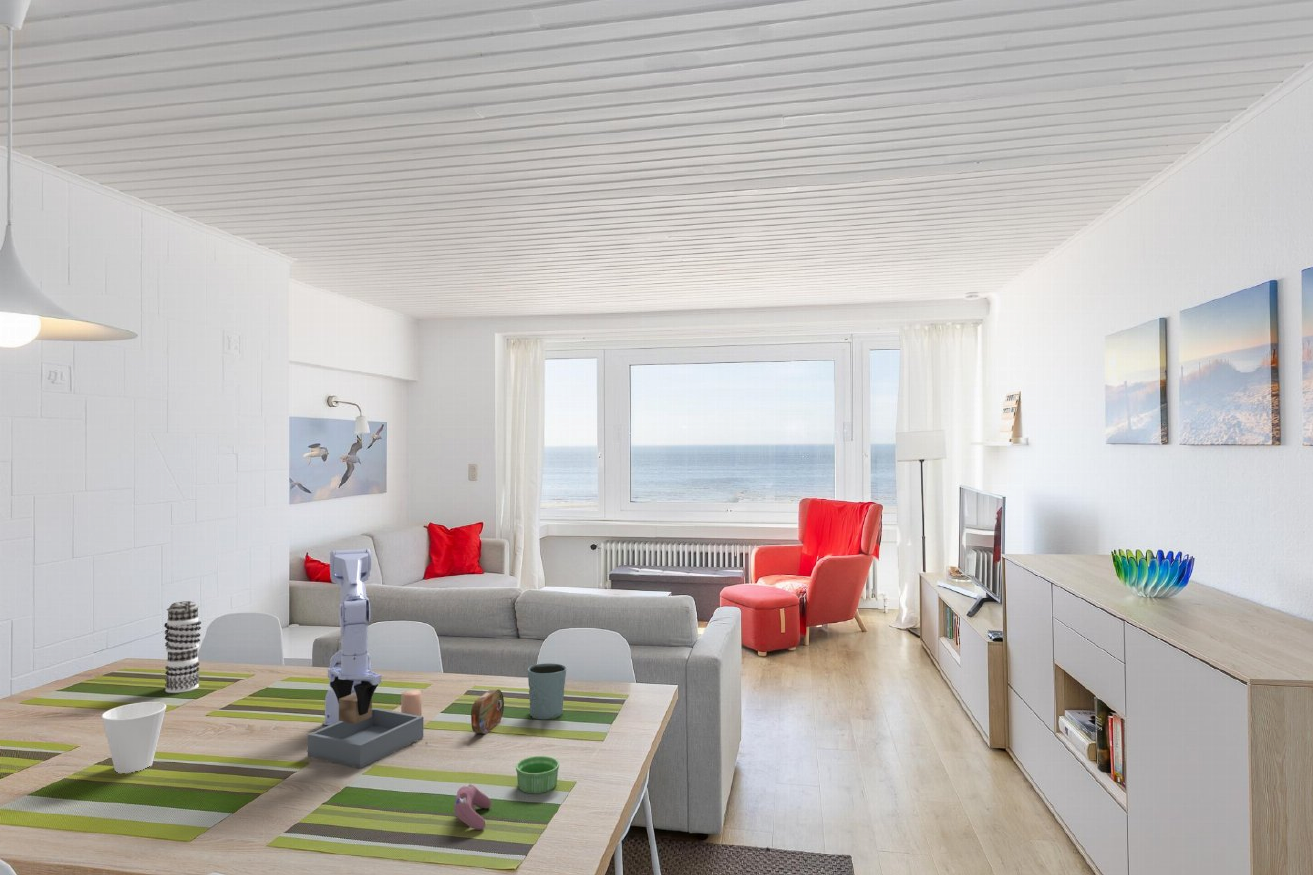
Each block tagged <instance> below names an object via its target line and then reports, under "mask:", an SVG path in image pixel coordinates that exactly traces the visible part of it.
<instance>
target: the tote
mask: <svg viewBox="0 0 1313 875" xmlns="http://www.w3.org/2000/svg"><path fill="white" fill-rule="evenodd" d="M423 738H424V716H423V715H422V716H417V715H411V714H406V713H401V712H399V711H393V710H389V709H383V708H378V707H372V717H371V718H368V719H366V720H363V721H361V722H358V723H356V724H353V723H348V722H343V721H339V722H337V723H334V724H332V725H330V726H329V725H326V726H325V727H323V728H320V729H317V730H315V731H312V732H310V733H308V734H307V757H309V758H313V759H317V760H322V761H326V762H329V763H334V764H337V765H338V764H340V765H343V766H347V767H352V768H357V769H362V768H364V767H366V766H369V765H370V764H372V763H375V762H377V761H378V760H381V759H382V758H385V757H387V756H388V755H391V754H392V753H394V752H397V751H398V750H401V749H402V748H404V747H408V745H411V744H413V743H415V742H417V741H419V740H421V739H423Z"/></svg>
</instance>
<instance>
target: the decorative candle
mask: <svg viewBox="0 0 1313 875" xmlns="http://www.w3.org/2000/svg"><path fill="white" fill-rule="evenodd" d="M199 608H200V607H199V605H197V604H196V602H194V601H191V600H188V601H186V600H185V601H184V600H183V601H178V602H174V603H172V604H171V605H169V608H167V609H166V611H167V617H168V618H167V621H166V622H165V623H164V626H163V627H164V628H165V629H166V630H164V635H165V637H164V639H165V640H166V642H165V646H164V647H166V648H165V651H166V652H167V659H166V666H165V670H166V671H165V672H164V673H165V675H166V677H165V678H164V681H165V684H164V686H165V687H166V688H165V692H166V693H167V694H168V693H169V694H170V693H172V694H177V693H179V694H180V693H186V692H190V691H194V690H196V689H198V688H199V687H200V684H199V683H200V679H199V678H200V673H199V671H200V667H198V666H200V662H199V656H198V648H200V644H199V642H201V639H200V638H199V637H201V633H199V632H198V631H200V630H201V629H202V627H201V626H200V625H201V624H202V622H201V621H200V620H199V619H200V618H199Z"/></svg>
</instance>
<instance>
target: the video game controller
mask: <svg viewBox="0 0 1313 875" xmlns="http://www.w3.org/2000/svg"><path fill="white" fill-rule="evenodd" d="M491 806H492V801H491V799H490V798H489V796H487V795H486V794H485V793H483V792H482V791H480V790H479V789H478V787H476V786H475V785H472V783H469V784H465V785H463V786H461V787H460V788H459V789H458V790H457V793H456V797H455V802H454V803H453V808H454V813H455V815H456V817H457V818H458V820H460V821H462V822H463V823H464V824H465V825H467V826H468V827H470V828H471V829H473V830H477V831H480V830H481V831H482V830H484V828H485V826H486V821H485V819H484V817H482V815H480V814H479V813H478V812H476V807H477V808H478V809H479V808H480V809H483V808H484V809H486V808H488V809H489V808H490V807H491Z"/></svg>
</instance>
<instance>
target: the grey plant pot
mask: <svg viewBox="0 0 1313 875" xmlns="http://www.w3.org/2000/svg"><path fill="white" fill-rule="evenodd" d="M566 676H567V666H565V665H563V664H559V663H548V662H547V663H538V664H534V665H530V666H529V667H528V668H527V679H528V680H527V681H528V688H529V690H528V695H529V696H528V697H529V698H528V699H529V715H530V717H531V716H532V717H531V718H533V717H534V718H533V719H537V720H550V718H552V719H556V718H558V717H557V716H559V715H560V716H562V715H561V714H563V709H564V708H563V707H564V696H565V686H566ZM560 716H559V717H560ZM555 717H556V718H555Z"/></svg>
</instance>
